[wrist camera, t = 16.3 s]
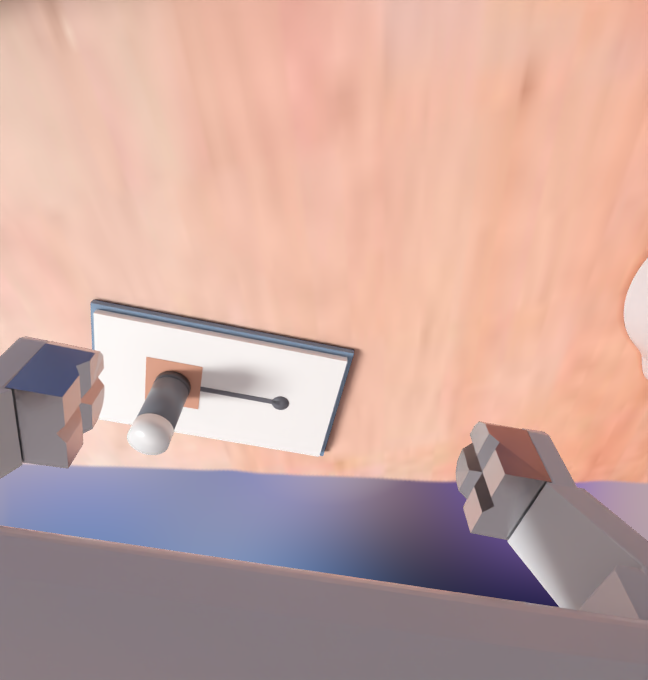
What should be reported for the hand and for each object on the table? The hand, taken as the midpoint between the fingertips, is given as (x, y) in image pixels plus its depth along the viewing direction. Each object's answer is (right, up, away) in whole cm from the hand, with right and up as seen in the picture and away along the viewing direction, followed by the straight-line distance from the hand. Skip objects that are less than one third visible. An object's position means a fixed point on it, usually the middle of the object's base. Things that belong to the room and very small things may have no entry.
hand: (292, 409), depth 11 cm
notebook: (-9, -3, +36) cm, 37 cm away
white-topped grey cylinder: (-13, -3, +35) cm, 37 cm away
